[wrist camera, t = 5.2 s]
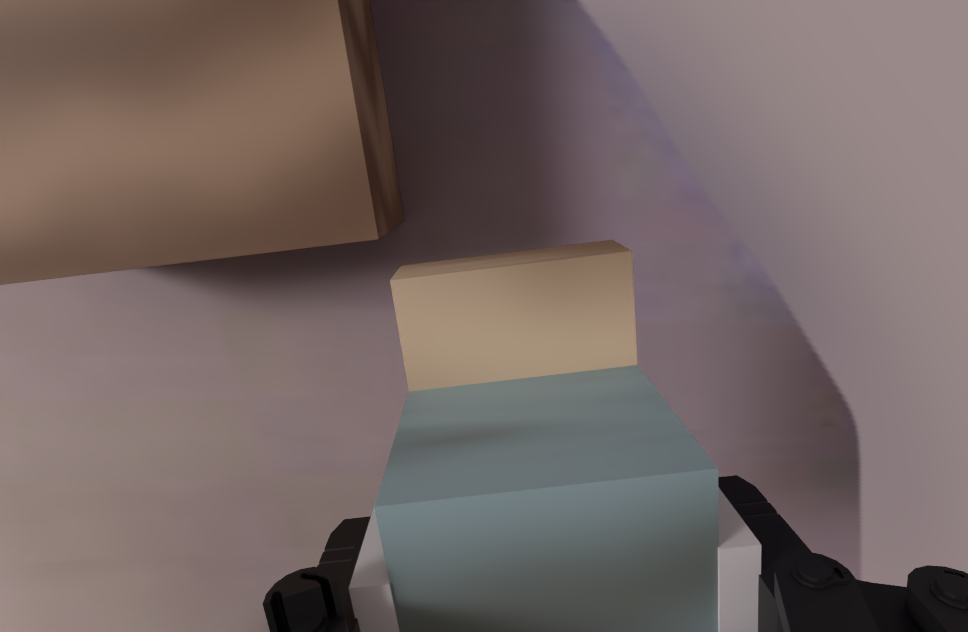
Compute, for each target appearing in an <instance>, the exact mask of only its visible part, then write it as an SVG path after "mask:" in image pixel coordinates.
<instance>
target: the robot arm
mask: <svg viewBox="0 0 968 632" xmlns="http://www.w3.org/2000/svg"><path fill="white" fill-rule="evenodd" d="M381 483H382V482H381ZM378 493H379V492H378ZM377 496H378V495H377ZM375 503H376V502H375ZM718 504H719V547H718V632H968V574H967V573H965V572H962V571H959V570H955V569H951V568H947V567H941V566H924V567H920V568H916V569H914V570H913V571H912V572H911V573H910V574H909V575H908V581H907V587H901V586H893V585H885V584H878V583H870V582H865V581H860V580H856V579H855V577H854V576H853V575H852V573H851V572H850V571H849V570H848V569H847V568H846V567H844V566H843V565H842V564H840V563H839V562H837V561H836V560H833V559H831V558H829V557H826V556H824V555H822V554H817V553H812V552H811V551H810V549H809V548H808V547H807V546H806V545H805V544H804V542H803V541H802V540H801V539H800V538H799V537H798V535H797V534H796V533H795V532H794V531H793V530H792V528H791V527H790V526H789V525H788V524H787V523H786V522H785V520H784V519H783V518H782V517H781V516H780V515H779V514H777V511H776V510H775V509H774V508H773V506H772V505H771V504H770V503H768V502H767V499H766V498H765V497H764V496H763V495H762V494H761V492H760V491H759V490H758V489H757V488H756V487H755V486H754V485H752V484H750V483H749V482H747V481H745V480H744V479H742V478H740V477H739V476H737V475H735V476H726V477H718ZM374 506H375V505H374ZM263 607H264V610H265V614H266V618H267V621H268V625H269V629H270V632H399V627H398V622H397V617H396V612H395V607H394V602H393V597H392V592H391V587H390V582H389V577H388V572H387V568H386V563H385V558H384V553H383V548H382V543H381V538H380V533H379V528H378V523H377V518H376V513H375V508H373V511H372V515H371V517H362V518H353V519H344V520H343V521H342V522H341V523H340V525H339V526H338V527H337V528H336V529H335V530H334V531H333V532H332V533H331V534H330V537H329V539H328V542H327V544H326V547H325V552H323V554H322V556H321V559H320V561H319V565H318V566H317V567H311V568H305V569H300V570H298V571H295V572H293V573H291V574H288V575H286V576H285V577H284V578H282V579H281V580H279V581H278V582H277V583H275V584H274V585H273V587H272V588H271V589H270V590H269V591H268V593H267V594H266V597H265V599H264V602H263Z"/></svg>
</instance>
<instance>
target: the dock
mask: <svg viewBox="0 0 968 632" xmlns="http://www.w3.org/2000/svg"><path fill="white" fill-rule="evenodd" d="M403 221H404V214H403V208H402V202H401V195H400V189H399V183H398V176H397V170H396V164H395V157H394V151H393V145H392V138H391V132H390V126H389V119H388V113H387V107H386V100H385V94H384V87H383V81H382V75H381V68H380V62H379V56H378V49H377V43H376V37H375V30H374V24H373V18H372V11H371V5H370V0H0V285H3V284H12V283H20V282H28V281H36V280H45V279H53V278H61V277H70V276H78V275H86V274H95V273H103V272H111V271H120V270H128V269H136V268H144V267H153V266H161V265H169V264H178V263H186V262H194V261H203V260H211V259H219V258H228V257H236V256H244V255H252V254H261V253H269V252H277V251H286V250H294V249H302V248H311V247H319V246H327V245H336V244H344V243H352V242H360V241H369V240H377V239H380V238H381V237H382V236H384V235H385V234H387V233H388V232H389V231H391V230H392V229H394V228H395V227H396V226H398V225H399V224H400V223H402V222H403Z"/></svg>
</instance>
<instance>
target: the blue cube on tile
mask: <svg viewBox="0 0 968 632" xmlns="http://www.w3.org/2000/svg"><path fill="white" fill-rule="evenodd" d="M390 284H391V289H392V295H393V301H394V307H395V313H396V319H397V325H398V330H399V336H400V342H401V348H402V354H403V360H404V365H405V371H406V377H407V383H408V389H409V393H408V396H407V400H406V403H405V406H404V410H403V413H402V416H401V420H400V423H399V426H398V430H397V433H396V436H395V440H394V443H393V446H392V450H391V453H390V456H389V460H388V463H387V466H386V469H385V473H384V476H383V479H382V483H381V486H380V489H379V493H378V496H377V499H376V503H375V506H374V508H375V513H376V518H377V523H378V528H379V533H380V538H381V543H382V548H383V553H384V558H385V563H386V568H387V572H388V577H389V582H390V587H391V592H392V597H393V602H394V607H395V612H396V617H397V622H398V627H399V632H718V547H719V504H718V467H717V466H716V465H715V464H714V462H713V461H712V460H711V458H710V457H709V456H708V455H707V453H706V452H705V451H704V450H703V448H702V447H701V446H700V444H699V443H698V442H697V441H696V439H695V438H694V437H693V435H692V434H691V433H690V432H689V430H688V429H687V428H686V426H685V425H684V424H683V423H682V421H681V420H680V419H679V418H678V416H677V415H676V414H675V412H674V411H673V410H672V409H671V407H670V406H669V405H668V403H667V402H666V401H665V400H664V398H663V397H662V396H661V395H660V393H659V392H658V391H657V389H656V388H655V387H654V386H653V384H652V383H651V382H650V380H649V379H648V378H647V377H646V375H645V374H644V373H643V372H642V370H641V369H640V368H639V366H638V365H637V346H636V326H635V305H634V284H633V263H632V251H631V250H629V249H628V248H626V247H624V246H622V245H621V244H619V243H617V242H616V241H614V240H607V241H599V242H591V243H582V244H574V245H566V246H558V247H550V248H541V249H533V250H525V251H517V252H509V253H500V254H492V255H484V256H476V257H468V258H459V259H451V260H443V261H435V262H426V263H418V264H410V265H402V266H400V267H399V269H398V270H397V272H396V273H395V274H394V276H393V277H392V278H391V280H390Z"/></svg>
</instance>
